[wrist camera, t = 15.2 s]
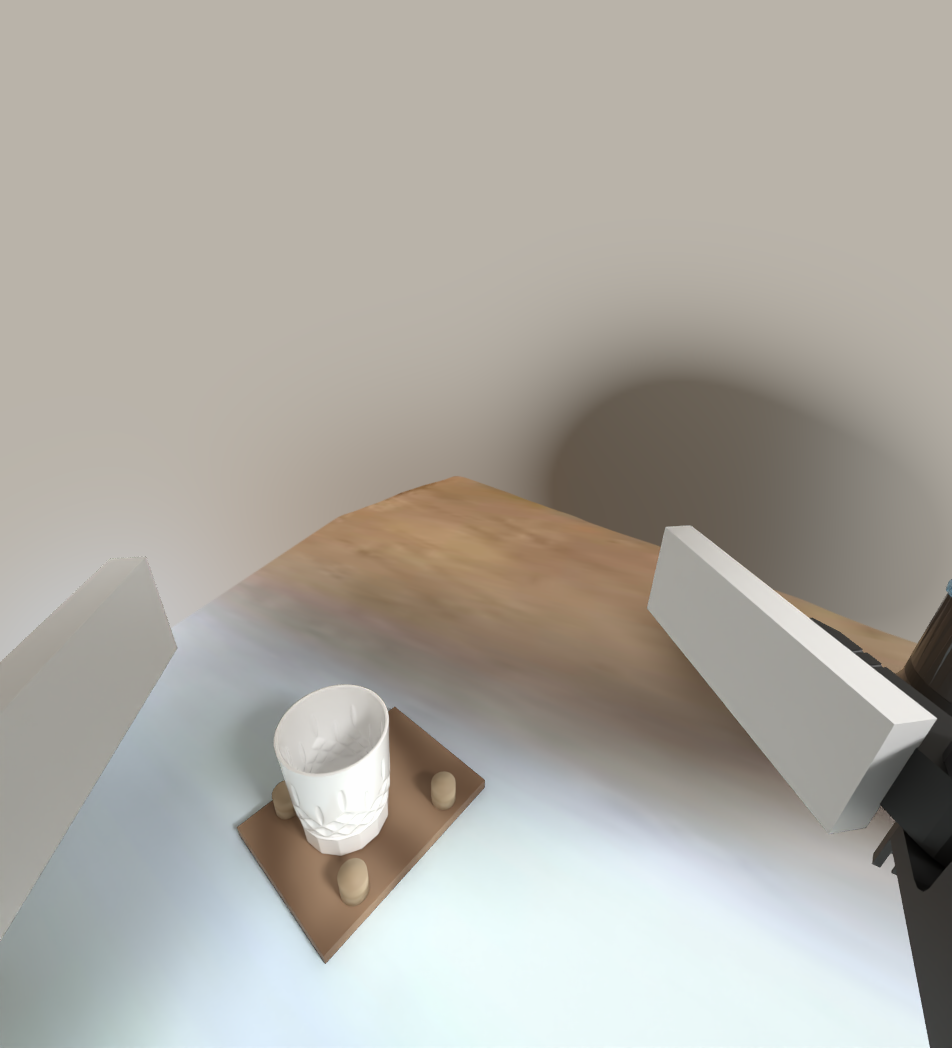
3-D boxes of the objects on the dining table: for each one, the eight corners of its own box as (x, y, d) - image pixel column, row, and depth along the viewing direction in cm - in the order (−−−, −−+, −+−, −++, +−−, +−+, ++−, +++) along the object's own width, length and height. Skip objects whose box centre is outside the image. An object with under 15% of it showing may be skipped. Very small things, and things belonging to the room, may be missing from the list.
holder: (395, 713, 48) (393, 692, 46) (484, 787, 41) (485, 764, 40) (239, 835, 37) (231, 811, 36) (325, 963, 30) (319, 940, 29)
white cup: (273, 827, 36) (249, 739, 32) (347, 752, 43) (335, 670, 38) (346, 889, 33) (329, 799, 28) (416, 797, 39) (410, 711, 34)
